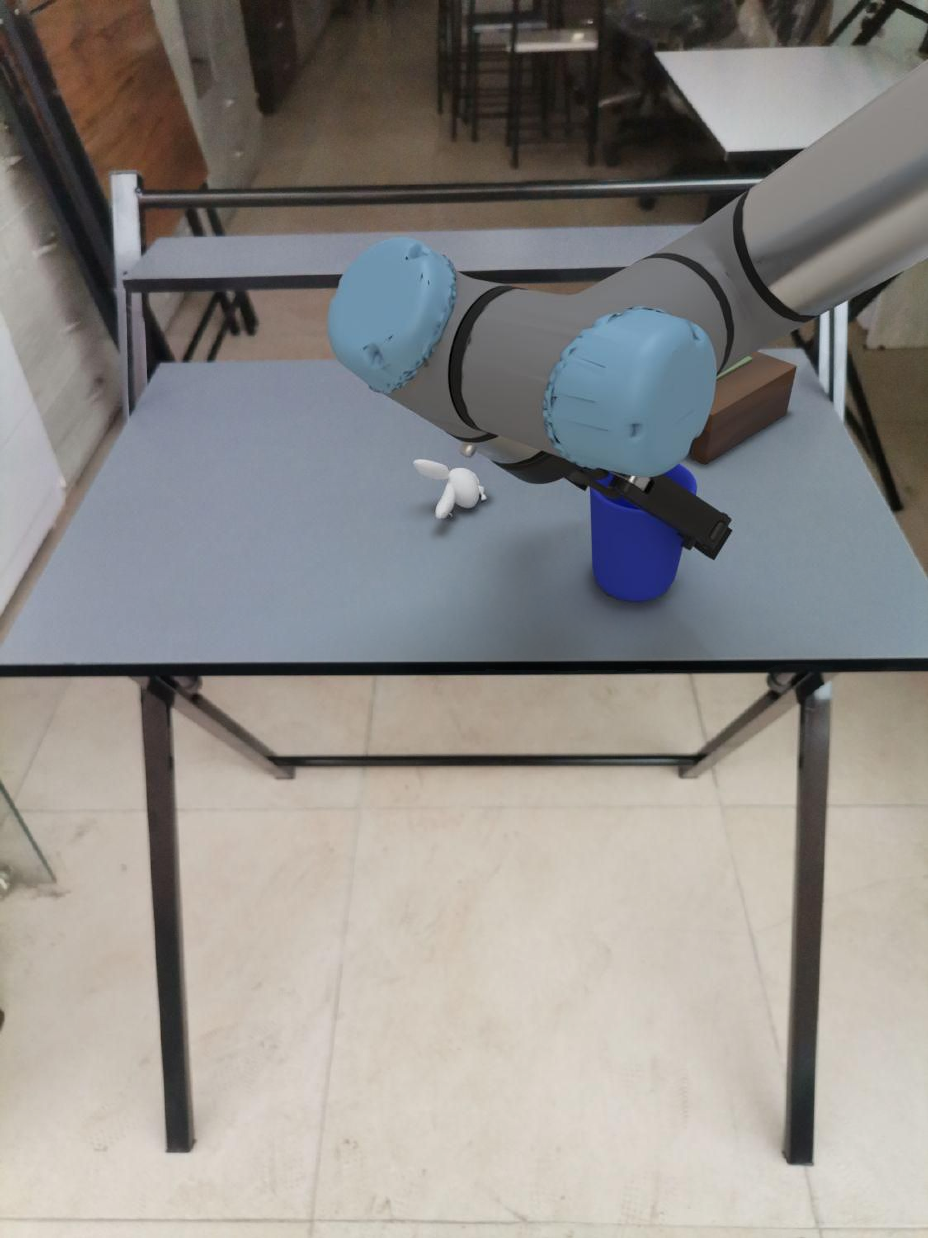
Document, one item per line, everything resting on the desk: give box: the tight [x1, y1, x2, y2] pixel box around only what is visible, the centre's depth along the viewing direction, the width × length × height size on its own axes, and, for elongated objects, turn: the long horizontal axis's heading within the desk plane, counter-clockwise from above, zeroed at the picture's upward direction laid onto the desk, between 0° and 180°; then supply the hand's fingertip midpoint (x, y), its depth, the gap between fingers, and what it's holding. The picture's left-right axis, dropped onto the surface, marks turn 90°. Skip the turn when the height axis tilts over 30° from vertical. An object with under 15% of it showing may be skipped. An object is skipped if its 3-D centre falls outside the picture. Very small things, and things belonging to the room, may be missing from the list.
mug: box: [589, 463, 698, 602], centre depth 76 cm, size 8×12×10 cm
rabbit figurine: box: [412, 458, 488, 520], centre depth 86 cm, size 6×4×8 cm
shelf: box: [690, 350, 798, 465], centre depth 97 cm, size 18×14×6 cm
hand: (651, 508), depth 76 cm, fingers open, 13 cm apart
